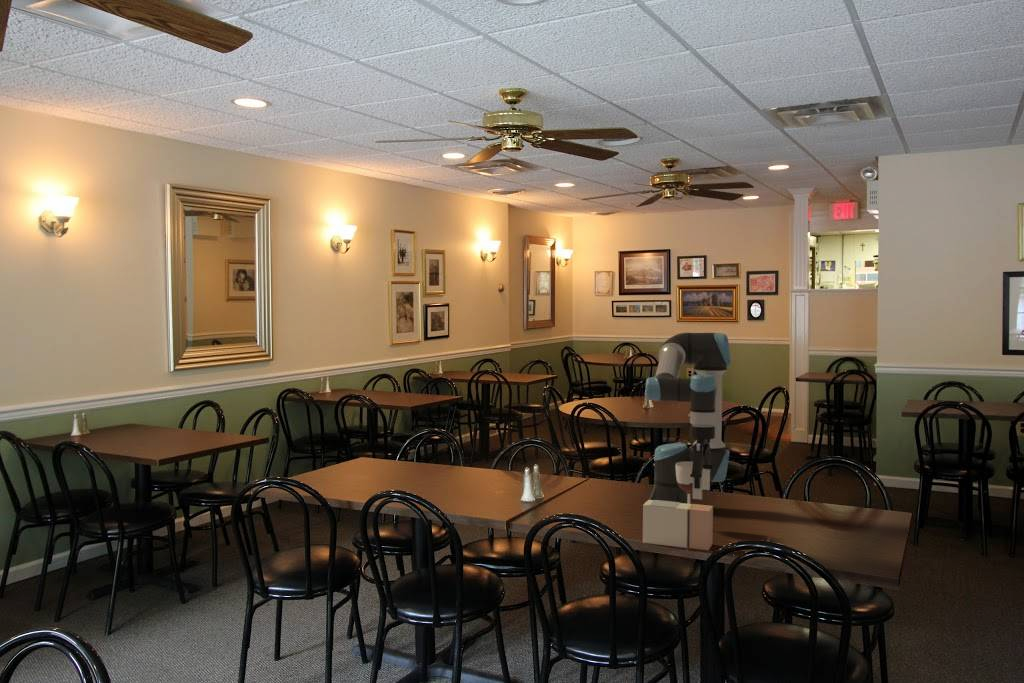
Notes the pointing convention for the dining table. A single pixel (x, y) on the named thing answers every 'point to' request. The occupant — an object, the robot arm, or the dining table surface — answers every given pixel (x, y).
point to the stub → (700, 526)
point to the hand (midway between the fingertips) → (701, 494)
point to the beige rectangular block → (666, 523)
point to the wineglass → (685, 477)
